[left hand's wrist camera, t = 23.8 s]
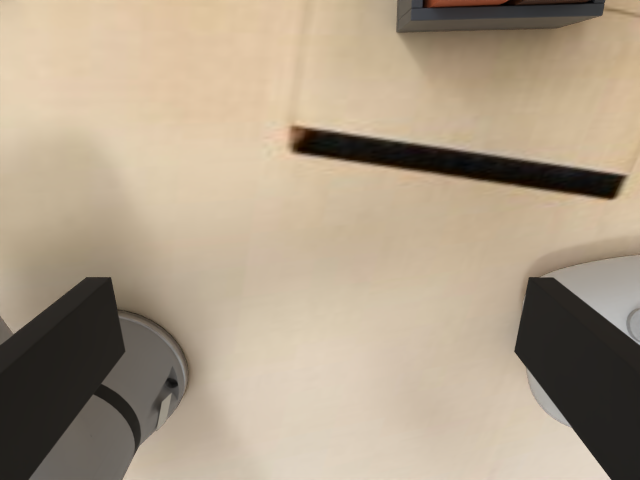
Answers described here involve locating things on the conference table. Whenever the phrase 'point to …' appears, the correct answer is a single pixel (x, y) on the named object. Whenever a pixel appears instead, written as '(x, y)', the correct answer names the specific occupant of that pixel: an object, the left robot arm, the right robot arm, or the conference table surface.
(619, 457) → the left robot arm
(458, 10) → the box
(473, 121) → the conference table surface
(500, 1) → the terracotta block
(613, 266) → the projector
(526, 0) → the walnut block
